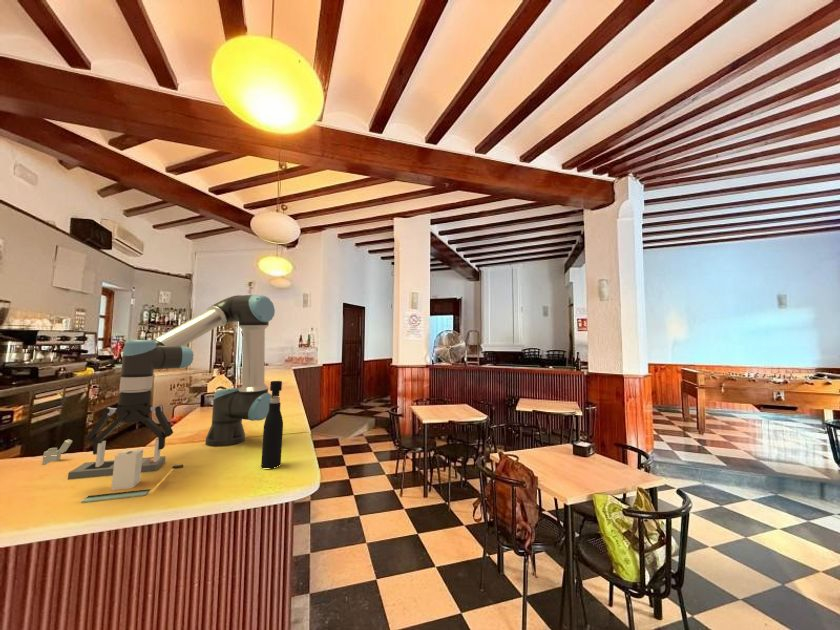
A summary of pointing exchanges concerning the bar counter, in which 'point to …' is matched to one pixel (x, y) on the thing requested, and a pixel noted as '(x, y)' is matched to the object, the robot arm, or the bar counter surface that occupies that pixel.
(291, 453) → the bar counter surface
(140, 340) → the robot arm
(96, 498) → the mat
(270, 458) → the wine bottle
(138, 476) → the charger
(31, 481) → the bar counter surface
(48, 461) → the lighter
